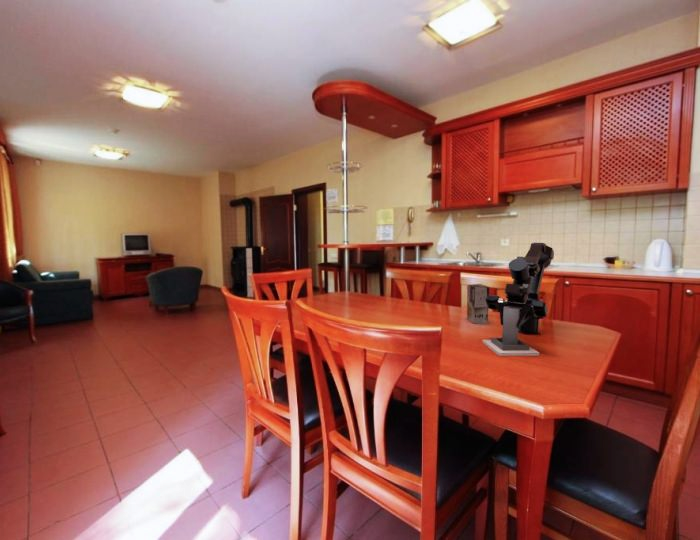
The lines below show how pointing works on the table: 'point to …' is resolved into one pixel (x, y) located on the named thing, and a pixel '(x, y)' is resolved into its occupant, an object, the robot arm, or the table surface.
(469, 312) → the coffee box
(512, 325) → the slate post
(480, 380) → the table surface
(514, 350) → the seat board
